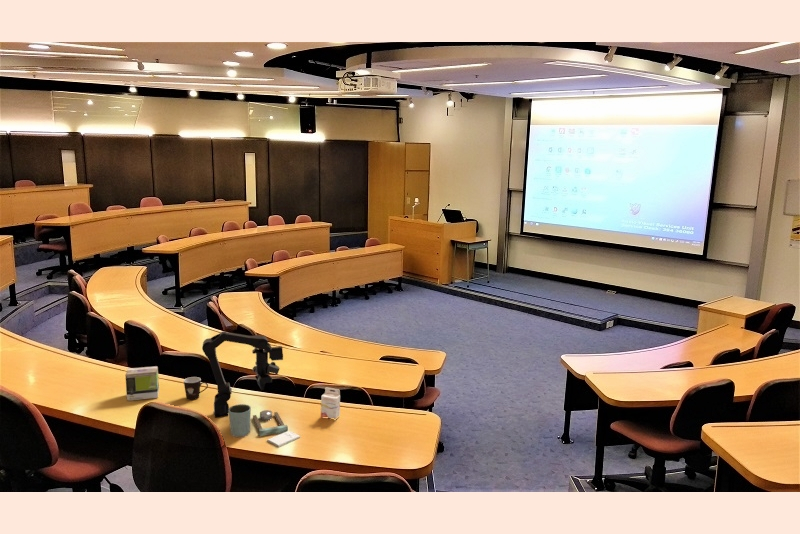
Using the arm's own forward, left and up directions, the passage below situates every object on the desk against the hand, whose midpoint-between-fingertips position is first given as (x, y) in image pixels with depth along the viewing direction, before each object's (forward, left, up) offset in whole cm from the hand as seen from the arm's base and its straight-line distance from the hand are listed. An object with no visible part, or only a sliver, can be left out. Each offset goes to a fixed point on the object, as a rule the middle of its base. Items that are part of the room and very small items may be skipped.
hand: (262, 390), depth 287 cm
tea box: (-55, +40, -11) cm, 69 cm away
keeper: (0, -9, -11) cm, 14 cm away
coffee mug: (-30, +28, -11) cm, 43 cm away
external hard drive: (+3, -34, -12) cm, 36 cm away
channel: (0, -16, -11) cm, 19 cm away
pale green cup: (-14, -20, -11) cm, 27 cm away
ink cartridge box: (+30, -19, -11) cm, 37 cm away
